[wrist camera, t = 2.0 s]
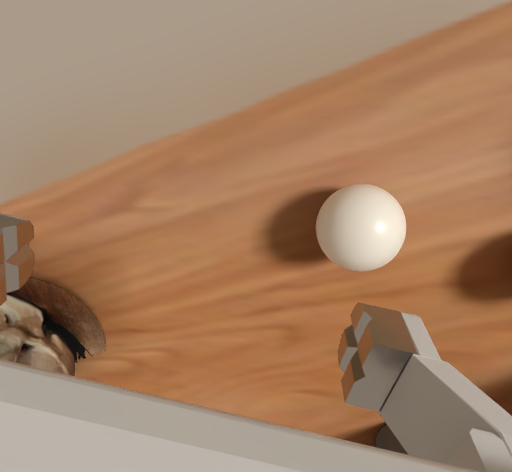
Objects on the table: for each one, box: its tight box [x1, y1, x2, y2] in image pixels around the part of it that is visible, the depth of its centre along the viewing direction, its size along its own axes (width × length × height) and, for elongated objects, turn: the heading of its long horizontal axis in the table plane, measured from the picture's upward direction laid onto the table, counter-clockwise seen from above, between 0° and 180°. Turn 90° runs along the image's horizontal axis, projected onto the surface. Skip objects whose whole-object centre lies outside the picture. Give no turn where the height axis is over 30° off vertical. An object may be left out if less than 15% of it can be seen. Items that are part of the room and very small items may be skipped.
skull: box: [0, 278, 106, 376], centre depth 32 cm, size 12×10×10 cm
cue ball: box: [316, 184, 406, 271], centre depth 25 cm, size 6×6×6 cm
